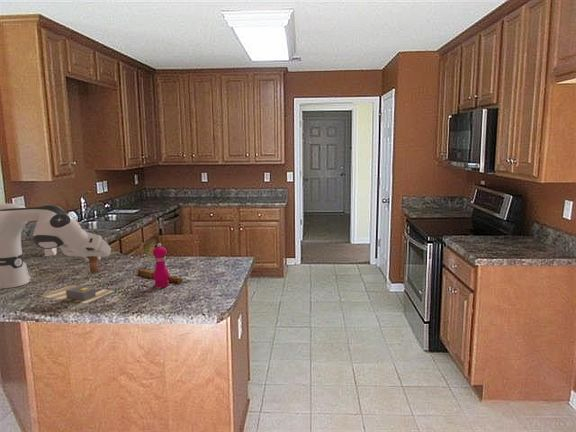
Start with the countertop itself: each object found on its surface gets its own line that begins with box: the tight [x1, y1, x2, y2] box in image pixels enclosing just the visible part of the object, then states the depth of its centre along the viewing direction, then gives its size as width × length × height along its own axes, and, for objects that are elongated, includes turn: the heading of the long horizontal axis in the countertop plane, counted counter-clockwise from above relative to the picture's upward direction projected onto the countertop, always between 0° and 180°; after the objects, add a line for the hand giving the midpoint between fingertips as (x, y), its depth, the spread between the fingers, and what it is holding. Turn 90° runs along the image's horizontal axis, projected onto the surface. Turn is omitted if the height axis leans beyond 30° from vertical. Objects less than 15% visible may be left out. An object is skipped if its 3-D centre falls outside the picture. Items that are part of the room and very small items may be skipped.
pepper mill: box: [152, 243, 170, 288], centre depth 203 cm, size 7×7×20 cm
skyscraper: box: [41, 247, 58, 257], centre depth 265 cm, size 8×8×28 cm
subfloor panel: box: [40, 284, 115, 304], centre depth 192 cm, size 26×16×1 cm, turn 68°
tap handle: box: [137, 268, 183, 285], centre depth 215 cm, size 3×3×30 cm
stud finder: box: [66, 285, 96, 301], centre depth 187 cm, size 10×6×4 cm, turn 69°
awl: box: [88, 256, 99, 274], centre depth 193 cm, size 3×3×13 cm
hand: (94, 258), depth 194 cm, fingers closed on awl, 3 cm apart
